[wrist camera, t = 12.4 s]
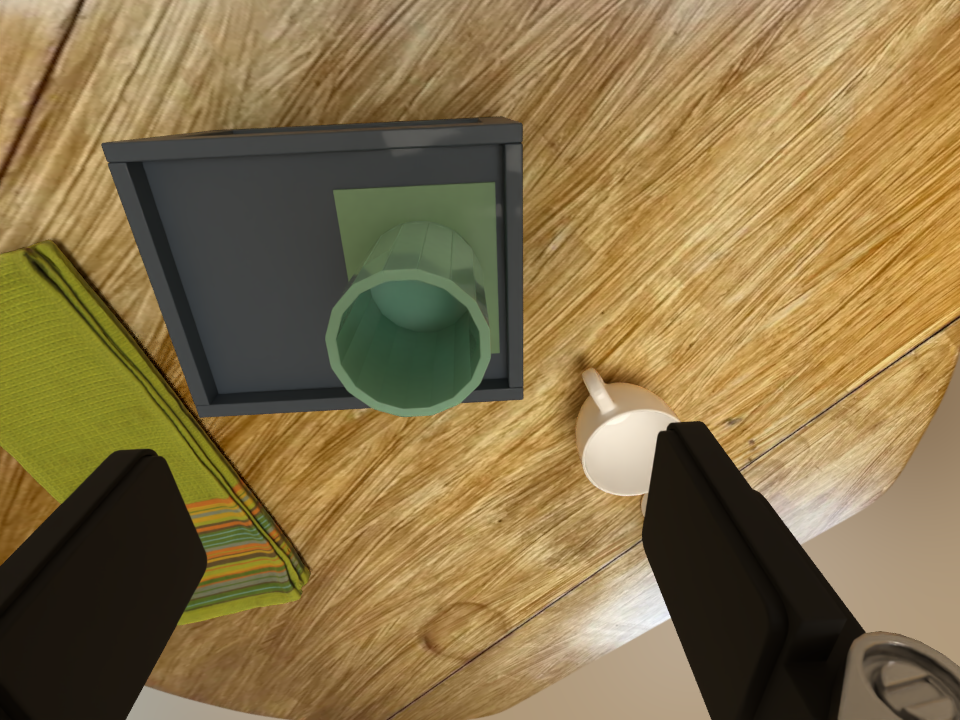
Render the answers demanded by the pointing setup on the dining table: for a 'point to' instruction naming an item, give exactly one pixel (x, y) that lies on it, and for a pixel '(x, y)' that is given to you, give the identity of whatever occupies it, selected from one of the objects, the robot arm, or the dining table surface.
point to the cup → (619, 434)
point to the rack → (312, 243)
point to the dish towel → (124, 427)
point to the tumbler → (412, 322)
